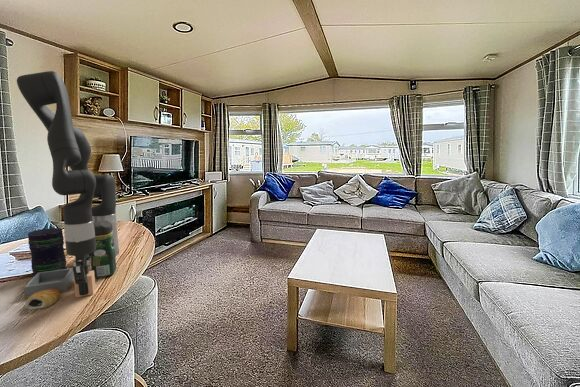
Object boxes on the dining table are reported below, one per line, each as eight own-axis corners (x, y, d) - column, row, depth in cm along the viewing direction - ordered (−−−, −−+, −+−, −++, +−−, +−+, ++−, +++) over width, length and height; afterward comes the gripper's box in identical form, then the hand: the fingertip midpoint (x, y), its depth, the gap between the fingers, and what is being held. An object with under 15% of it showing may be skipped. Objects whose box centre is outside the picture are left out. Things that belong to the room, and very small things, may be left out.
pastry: (43, 295, 95) (42, 283, 95) (68, 294, 96) (66, 282, 96) (21, 311, 86) (20, 298, 86) (48, 309, 87) (47, 296, 87)
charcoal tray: (38, 281, 105) (37, 272, 104) (74, 276, 109) (73, 268, 108) (25, 297, 94) (24, 287, 93) (65, 291, 98) (64, 281, 97)
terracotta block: (78, 290, 98) (77, 272, 97) (95, 288, 100) (94, 270, 99) (75, 297, 94) (73, 277, 93) (93, 294, 96) (91, 275, 95)
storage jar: (31, 272, 113) (25, 231, 111) (64, 264, 120) (59, 226, 118) (34, 280, 106) (29, 237, 104) (69, 272, 113) (65, 231, 111)
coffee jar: (93, 270, 115) (88, 220, 112) (118, 267, 117) (114, 218, 115) (87, 280, 106) (81, 226, 103) (113, 277, 108) (109, 224, 106)
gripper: (71, 232, 99) (76, 283, 102) (58, 245, 86) (65, 303, 89) (98, 229, 102) (103, 280, 105) (90, 241, 89) (96, 298, 92)
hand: (85, 290), depth 97 cm, fingers closed on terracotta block, 4 cm apart
